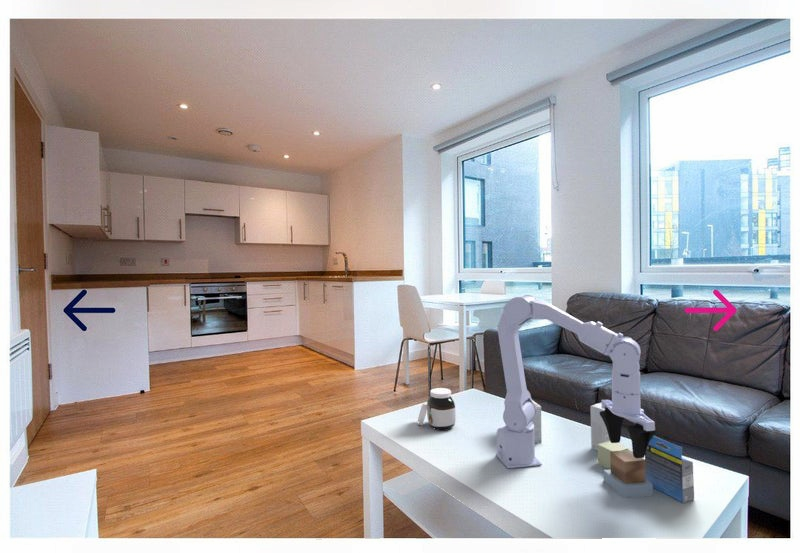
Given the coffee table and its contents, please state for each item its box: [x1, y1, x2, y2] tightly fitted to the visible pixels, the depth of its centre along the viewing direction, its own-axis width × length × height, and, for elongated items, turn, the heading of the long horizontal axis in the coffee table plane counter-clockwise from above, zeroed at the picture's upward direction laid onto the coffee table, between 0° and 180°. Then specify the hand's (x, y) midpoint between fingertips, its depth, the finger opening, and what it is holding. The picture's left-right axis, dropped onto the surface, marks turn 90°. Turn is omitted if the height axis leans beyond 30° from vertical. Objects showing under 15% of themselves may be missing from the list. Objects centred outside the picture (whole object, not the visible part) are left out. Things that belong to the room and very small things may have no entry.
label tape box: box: [644, 435, 695, 504], centre depth 88 cm, size 9×4×12 cm, turn 21°
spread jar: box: [417, 387, 457, 431], centre depth 128 cm, size 12×11×12 cm
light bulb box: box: [532, 399, 543, 444], centre depth 119 cm, size 11×7×11 cm, turn 5°
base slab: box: [603, 469, 654, 499], centre depth 90 cm, size 7×7×3 cm
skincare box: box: [590, 401, 610, 452], centre depth 109 cm, size 6×4×12 cm
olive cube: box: [597, 441, 629, 470], centre depth 100 cm, size 5×5×5 cm
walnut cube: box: [610, 449, 646, 484], centre depth 89 cm, size 5×5×5 cm
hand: (626, 449), depth 89 cm, fingers open, 7 cm apart
